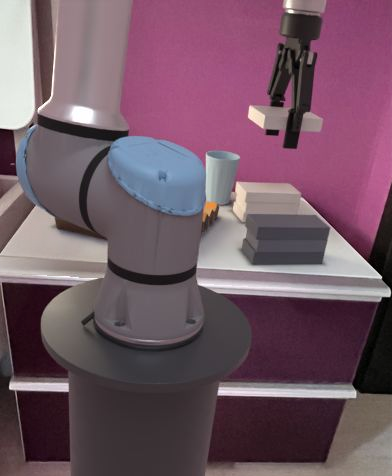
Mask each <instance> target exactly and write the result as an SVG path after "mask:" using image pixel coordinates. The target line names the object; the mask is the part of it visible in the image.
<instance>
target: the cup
mask: <svg viewBox="0 0 392 476" xmlns="http://www.w3.org/2000/svg"><path fill="white" fill-rule="evenodd" d="M240 162H241V156H240V155H239V154H237V153H234V152H230V151H226V150H208V151H206V152H205V171H206V190H205V192H206V201H208V202H212V203H217V204H218V206H223V205H228V204H229V203H230V200H231V196H232V193H233V190H234V189H233V188H234V184H235V181H236V176H237V173H238V168H239V165H240Z"/></svg>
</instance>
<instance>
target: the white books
mask: <svg viewBox="0 0 392 476" xmlns="http://www.w3.org/2000/svg"><path fill="white" fill-rule="evenodd" d="M234 192H235V193H236V197H235V201H233V208H232V212H233V213H234V214H235V216H236V217H237V218H238V219H239V221H240V222H242V223H245V222H246V216H247V214H292V215H299V210H300V205H301V198H302V192H301V191H299V190H298V189H297V188H295V186H293V185H292V184H291V183H289V182H259V181H255V182H254V181H253V182H252V181H236V183H235V191H234Z"/></svg>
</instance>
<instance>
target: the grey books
mask: <svg viewBox="0 0 392 476" xmlns="http://www.w3.org/2000/svg"><path fill="white" fill-rule="evenodd" d="M244 227H245V228H246V233H245V238H244V237H243V239H242V245H241V251H242V252H243V254H244V255H245V257H246V258H247V259H248V261H249V263H251V265H322V264H323V263H324V262H323V261H324V258H325V253H326V250H327V249H326V248H327V246H328V239H329V236H330V231H331V227H330V226H329V225H328V224H327V223H326V222H325V221H324V220H322V218H320V217H319V216H318V215H316V214H298V215H292V214H247V216H246V222H244Z"/></svg>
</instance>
